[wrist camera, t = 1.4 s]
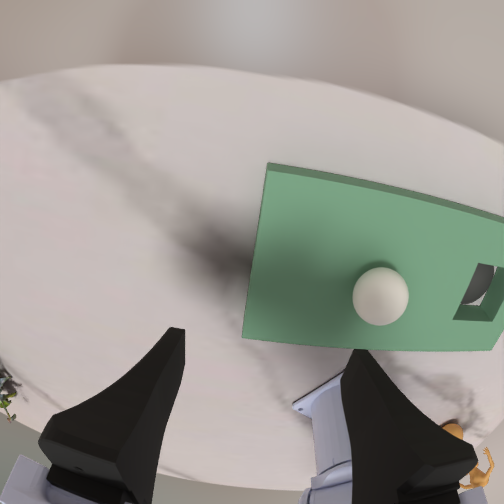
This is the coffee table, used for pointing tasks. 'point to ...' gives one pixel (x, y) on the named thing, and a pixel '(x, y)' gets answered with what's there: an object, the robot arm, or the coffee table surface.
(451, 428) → the figurine
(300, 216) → the putting mat
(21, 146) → the coffee table surface
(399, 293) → the ball
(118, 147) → the coffee table surface
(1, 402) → the passion flower
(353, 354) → the robot arm
